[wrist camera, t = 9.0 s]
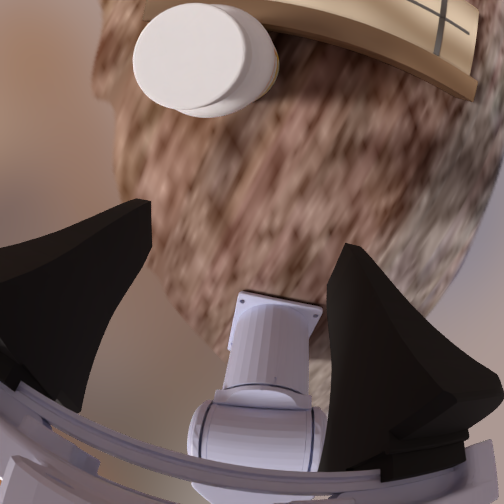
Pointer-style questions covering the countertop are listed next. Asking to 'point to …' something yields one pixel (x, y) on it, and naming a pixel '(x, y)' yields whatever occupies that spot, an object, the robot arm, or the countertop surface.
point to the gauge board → (376, 32)
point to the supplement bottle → (205, 59)
